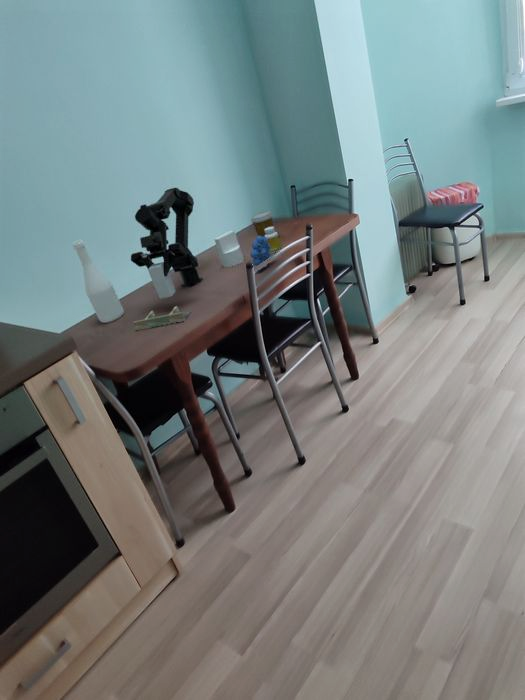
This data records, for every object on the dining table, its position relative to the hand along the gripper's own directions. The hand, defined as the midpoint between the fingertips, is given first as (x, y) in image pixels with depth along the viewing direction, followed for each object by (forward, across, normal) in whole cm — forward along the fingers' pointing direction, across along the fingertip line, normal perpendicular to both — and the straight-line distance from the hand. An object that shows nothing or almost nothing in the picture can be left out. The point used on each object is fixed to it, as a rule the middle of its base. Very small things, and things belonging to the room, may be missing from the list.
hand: (158, 277), depth 165 cm
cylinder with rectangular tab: (-18, +14, +36) cm, 43 cm away
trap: (+14, 0, +4) cm, 15 cm away
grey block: (+4, 0, +6) cm, 7 cm away
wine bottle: (+6, -26, +12) cm, 30 cm away
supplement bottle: (-20, +32, +38) cm, 54 cm away
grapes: (-8, +30, +26) cm, 40 cm away
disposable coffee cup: (-32, +26, +50) cm, 65 cm away
